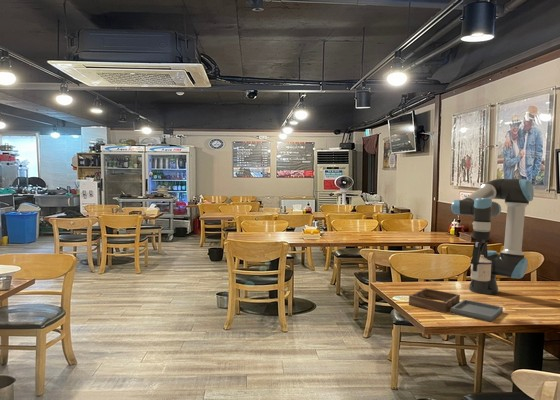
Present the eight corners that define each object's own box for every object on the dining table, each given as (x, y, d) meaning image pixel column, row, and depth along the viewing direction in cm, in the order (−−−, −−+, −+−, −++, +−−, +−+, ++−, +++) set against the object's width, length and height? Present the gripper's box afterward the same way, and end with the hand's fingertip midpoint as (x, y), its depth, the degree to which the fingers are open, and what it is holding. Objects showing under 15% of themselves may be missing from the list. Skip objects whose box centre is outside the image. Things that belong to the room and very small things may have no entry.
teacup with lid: (477, 276, 211) (478, 252, 210) (494, 280, 203) (496, 256, 203) (462, 278, 204) (463, 254, 204) (479, 283, 197) (481, 258, 196)
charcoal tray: (463, 304, 218) (464, 299, 218) (502, 312, 207) (502, 307, 206) (450, 313, 203) (450, 307, 203) (491, 322, 191) (491, 316, 191)
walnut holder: (424, 296, 231) (425, 288, 230) (459, 303, 219) (459, 294, 219) (408, 304, 215) (409, 295, 214) (445, 312, 203) (445, 303, 203)
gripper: (480, 227, 214) (477, 270, 215) (465, 231, 196) (462, 278, 197) (496, 229, 209) (493, 273, 210) (482, 233, 191) (480, 281, 192)
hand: (478, 276), depth 204 cm, fingers closed on teacup with lid, 11 cm apart
